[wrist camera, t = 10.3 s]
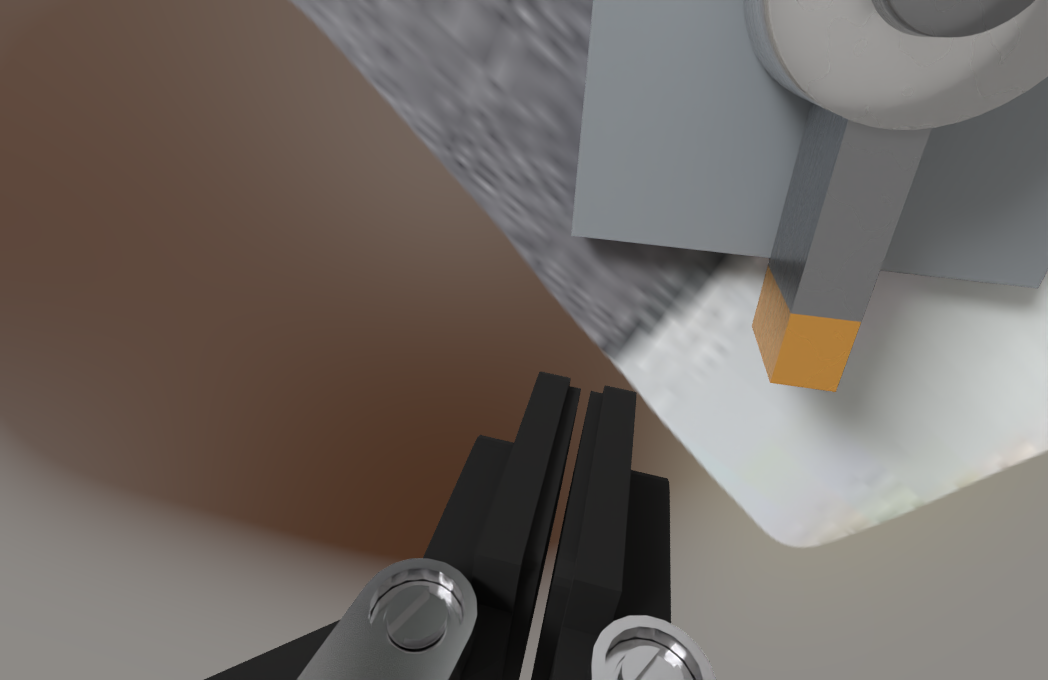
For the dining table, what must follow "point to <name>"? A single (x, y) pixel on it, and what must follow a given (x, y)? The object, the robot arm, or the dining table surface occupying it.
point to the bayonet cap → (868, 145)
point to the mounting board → (781, 153)
